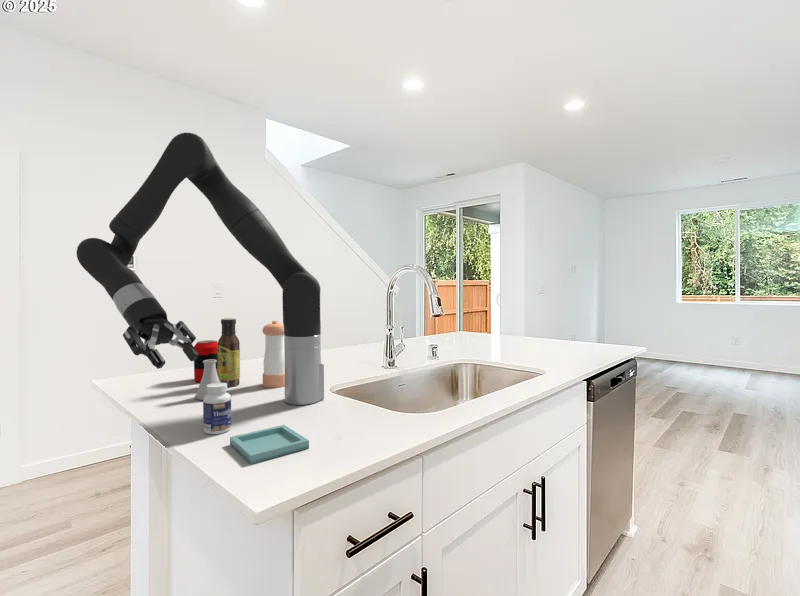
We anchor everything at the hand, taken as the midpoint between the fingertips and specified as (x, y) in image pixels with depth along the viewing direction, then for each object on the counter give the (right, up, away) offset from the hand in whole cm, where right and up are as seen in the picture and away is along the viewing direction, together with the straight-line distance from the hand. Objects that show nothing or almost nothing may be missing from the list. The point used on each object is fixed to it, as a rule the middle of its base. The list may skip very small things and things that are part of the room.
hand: (179, 362), depth 93 cm
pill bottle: (+10, -14, -3) cm, 17 cm away
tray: (+23, -14, -11) cm, 29 cm away
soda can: (-12, -12, +41) cm, 44 cm away
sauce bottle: (-3, -12, +34) cm, 37 cm away
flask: (-3, -13, +22) cm, 25 cm away
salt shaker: (+11, -12, +35) cm, 39 cm away
